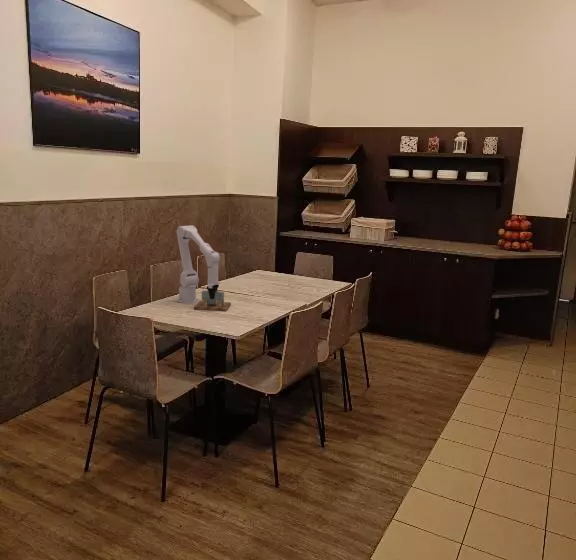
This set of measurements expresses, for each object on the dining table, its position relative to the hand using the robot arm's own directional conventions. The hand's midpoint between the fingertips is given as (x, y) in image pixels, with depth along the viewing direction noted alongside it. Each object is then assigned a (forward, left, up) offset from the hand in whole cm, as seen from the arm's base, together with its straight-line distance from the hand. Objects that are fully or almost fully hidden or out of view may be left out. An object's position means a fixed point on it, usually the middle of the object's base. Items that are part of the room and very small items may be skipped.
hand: (212, 298), depth 282 cm
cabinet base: (0, 0, -5) cm, 5 cm away
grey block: (0, 0, -3) cm, 3 cm away
